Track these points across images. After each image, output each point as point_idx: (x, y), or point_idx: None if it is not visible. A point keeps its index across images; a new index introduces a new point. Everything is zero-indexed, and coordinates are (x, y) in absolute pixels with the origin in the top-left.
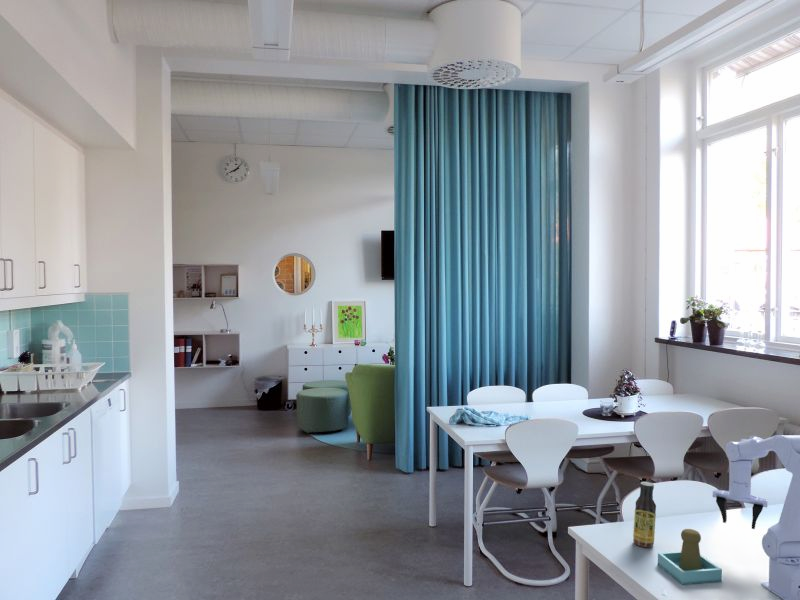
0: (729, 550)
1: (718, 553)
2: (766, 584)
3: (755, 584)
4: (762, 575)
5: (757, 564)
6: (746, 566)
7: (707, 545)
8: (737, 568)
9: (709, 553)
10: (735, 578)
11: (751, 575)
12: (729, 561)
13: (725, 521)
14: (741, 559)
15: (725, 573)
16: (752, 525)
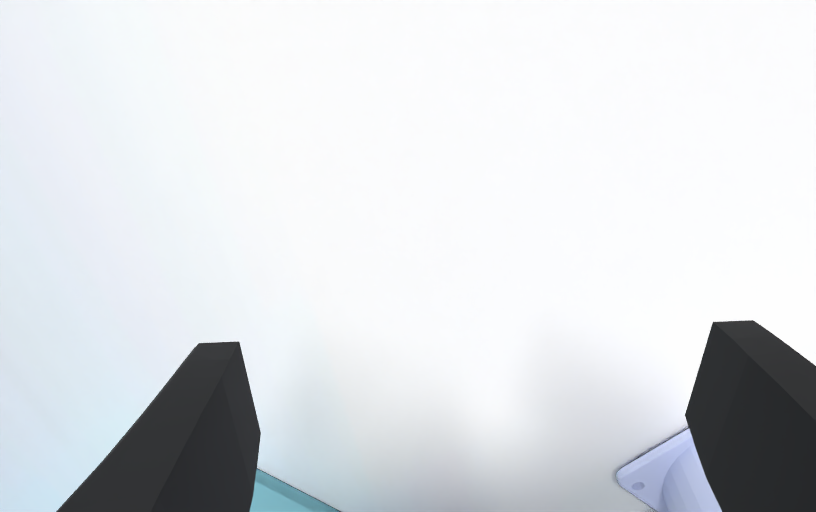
0: (326, 10)
1: (257, 169)
2: (651, 484)
3: (583, 479)
4: (636, 353)
5: (613, 187)
6: (522, 281)
7: (85, 29)
8: (460, 351)
9: (191, 221)
10: (465, 476)
11: (560, 393)
12: (384, 273)
13: (256, 462)
14: (472, 169)
15: (398, 455)
16: (721, 483)
